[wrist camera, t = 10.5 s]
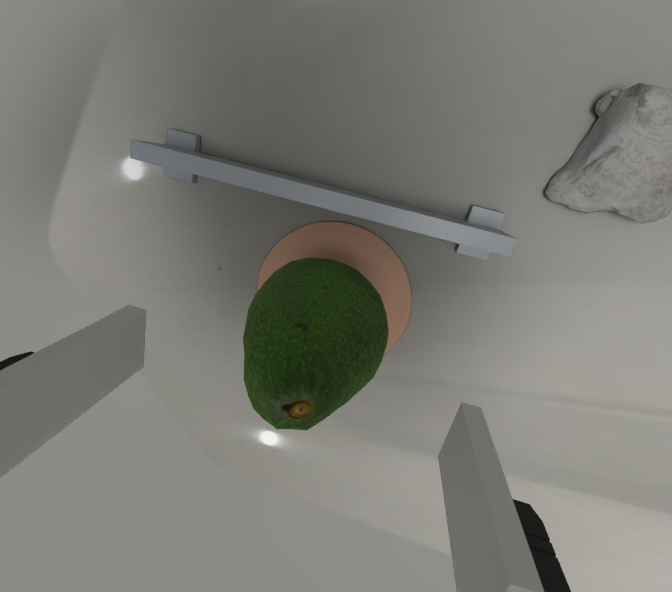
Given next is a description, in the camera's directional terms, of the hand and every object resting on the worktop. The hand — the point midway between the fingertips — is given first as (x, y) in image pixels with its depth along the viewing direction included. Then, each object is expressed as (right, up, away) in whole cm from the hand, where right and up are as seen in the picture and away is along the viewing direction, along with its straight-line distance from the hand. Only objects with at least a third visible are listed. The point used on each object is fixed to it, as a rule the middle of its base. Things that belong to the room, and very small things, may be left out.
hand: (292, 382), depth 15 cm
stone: (+20, +12, +6) cm, 24 cm away
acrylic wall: (+1, +10, +9) cm, 14 cm away
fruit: (+1, +3, +11) cm, 12 cm away
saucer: (+1, +3, +11) cm, 12 cm away
